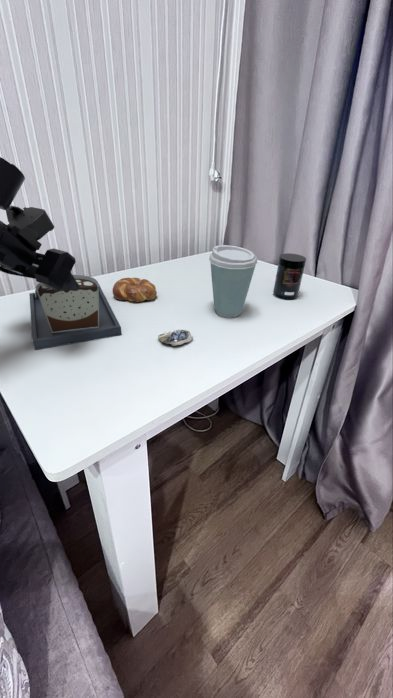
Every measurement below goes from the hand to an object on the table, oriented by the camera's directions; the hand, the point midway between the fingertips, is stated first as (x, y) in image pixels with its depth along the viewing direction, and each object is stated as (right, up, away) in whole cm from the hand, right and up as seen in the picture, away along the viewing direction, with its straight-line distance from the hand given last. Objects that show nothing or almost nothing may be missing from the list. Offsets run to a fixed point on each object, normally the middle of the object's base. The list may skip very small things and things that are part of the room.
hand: (61, 283), depth 65 cm
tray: (-1, -6, +10) cm, 12 cm away
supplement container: (+51, +2, +25) cm, 57 cm away
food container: (+1, -8, +6) cm, 10 cm away
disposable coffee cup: (+34, -4, +15) cm, 38 cm away
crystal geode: (+22, -11, +4) cm, 25 cm away
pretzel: (+11, +1, +21) cm, 24 cm away
